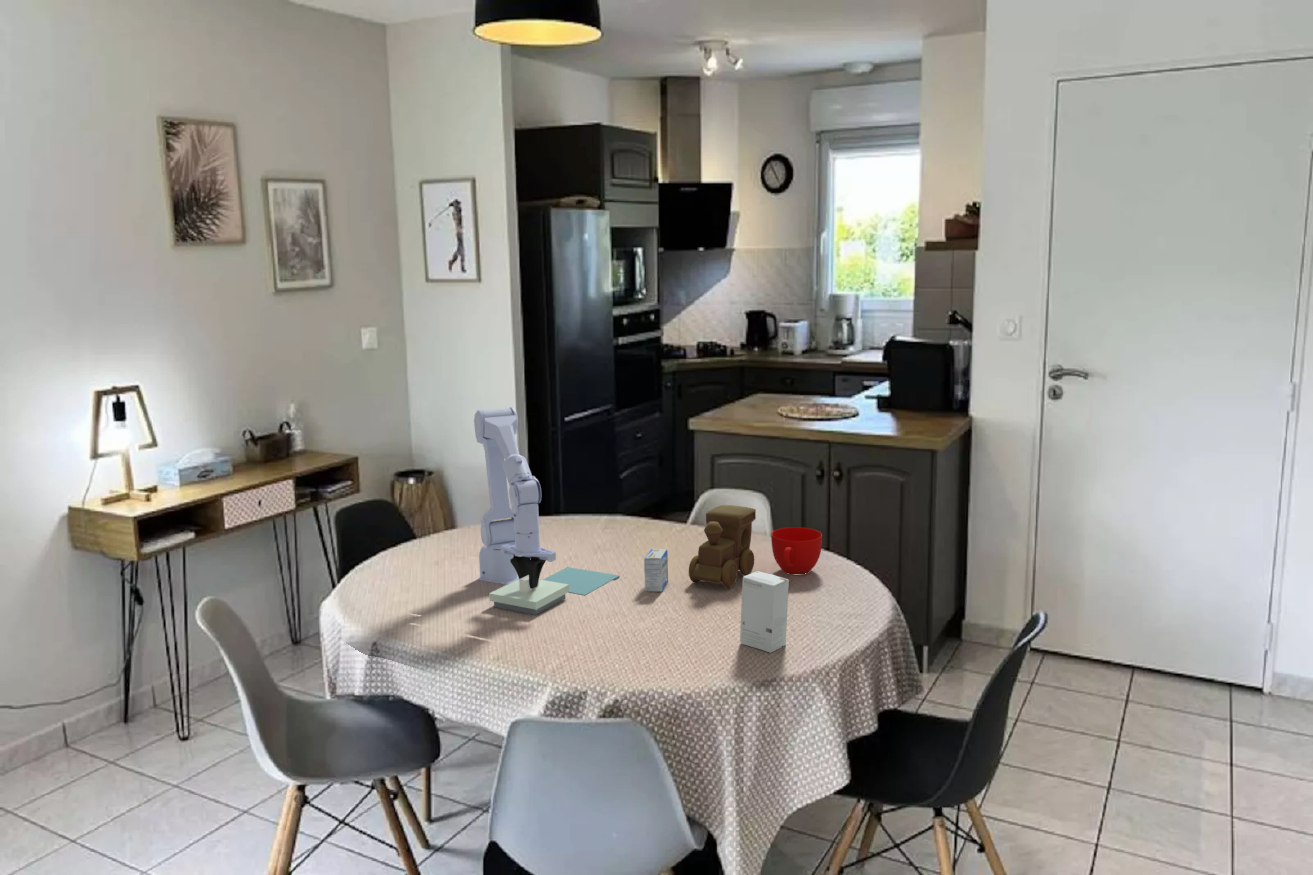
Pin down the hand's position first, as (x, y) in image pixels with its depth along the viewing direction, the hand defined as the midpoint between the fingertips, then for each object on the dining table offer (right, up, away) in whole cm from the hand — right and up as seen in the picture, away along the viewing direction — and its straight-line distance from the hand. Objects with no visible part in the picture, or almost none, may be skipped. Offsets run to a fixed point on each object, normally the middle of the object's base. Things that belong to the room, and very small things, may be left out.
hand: (529, 586), depth 229 cm
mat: (+10, -1, +16) cm, 19 cm away
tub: (0, -4, +1) cm, 4 cm away
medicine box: (+30, -2, +11) cm, 32 cm away
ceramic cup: (+65, 0, +19) cm, 68 cm away
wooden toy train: (+47, -1, +17) cm, 50 cm away
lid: (0, -1, 0) cm, 1 cm away
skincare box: (+53, -8, -26) cm, 59 cm away
